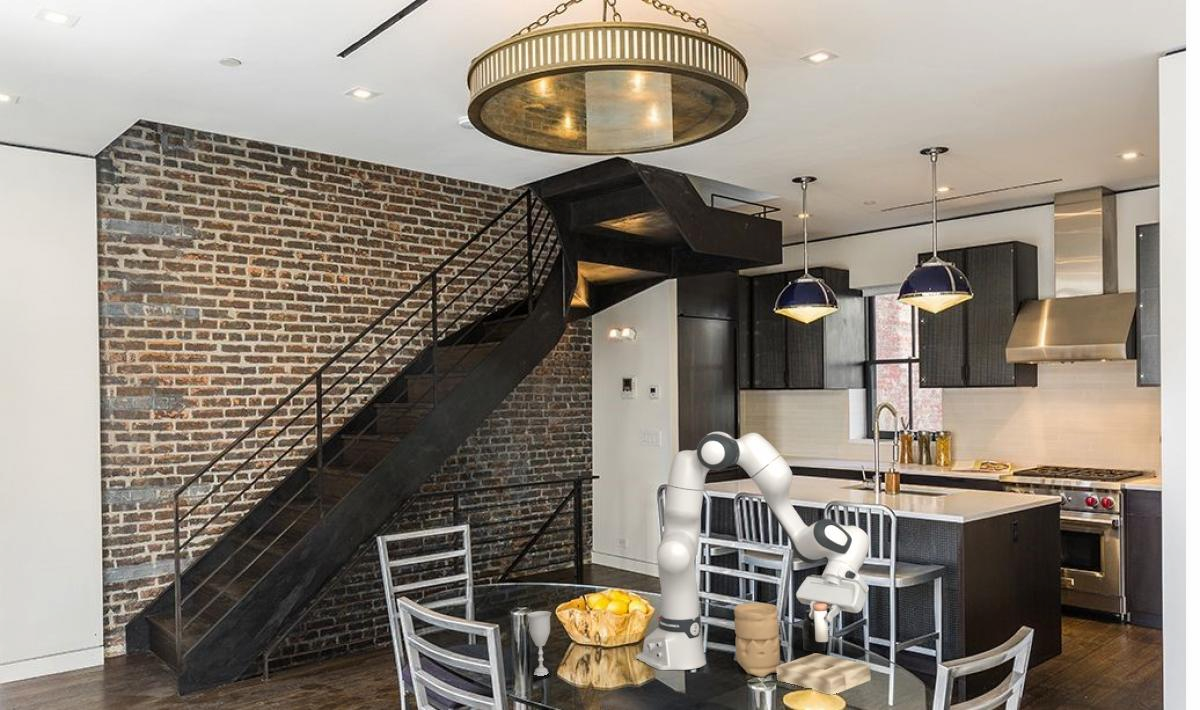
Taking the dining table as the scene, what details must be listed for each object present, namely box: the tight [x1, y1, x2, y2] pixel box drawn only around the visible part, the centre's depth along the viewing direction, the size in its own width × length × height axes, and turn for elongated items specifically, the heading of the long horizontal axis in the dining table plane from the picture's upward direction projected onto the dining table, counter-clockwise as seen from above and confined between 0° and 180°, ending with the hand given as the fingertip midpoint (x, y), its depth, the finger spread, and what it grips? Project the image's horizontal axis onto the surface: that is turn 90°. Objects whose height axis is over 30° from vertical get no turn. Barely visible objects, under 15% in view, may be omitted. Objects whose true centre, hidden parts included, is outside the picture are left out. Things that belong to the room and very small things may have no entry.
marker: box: [813, 602, 829, 643], centre depth 249 cm, size 4×4×10 cm
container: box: [733, 602, 781, 678], centre depth 260 cm, size 13×13×18 cm
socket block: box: [776, 652, 872, 695], centre depth 248 cm, size 18×18×4 cm
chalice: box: [527, 610, 552, 676], centre depth 261 cm, size 7×7×18 cm
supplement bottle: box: [802, 608, 827, 653], centre depth 278 cm, size 7×7×12 cm
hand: (819, 619), depth 248 cm, fingers closed on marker, 3 cm apart
